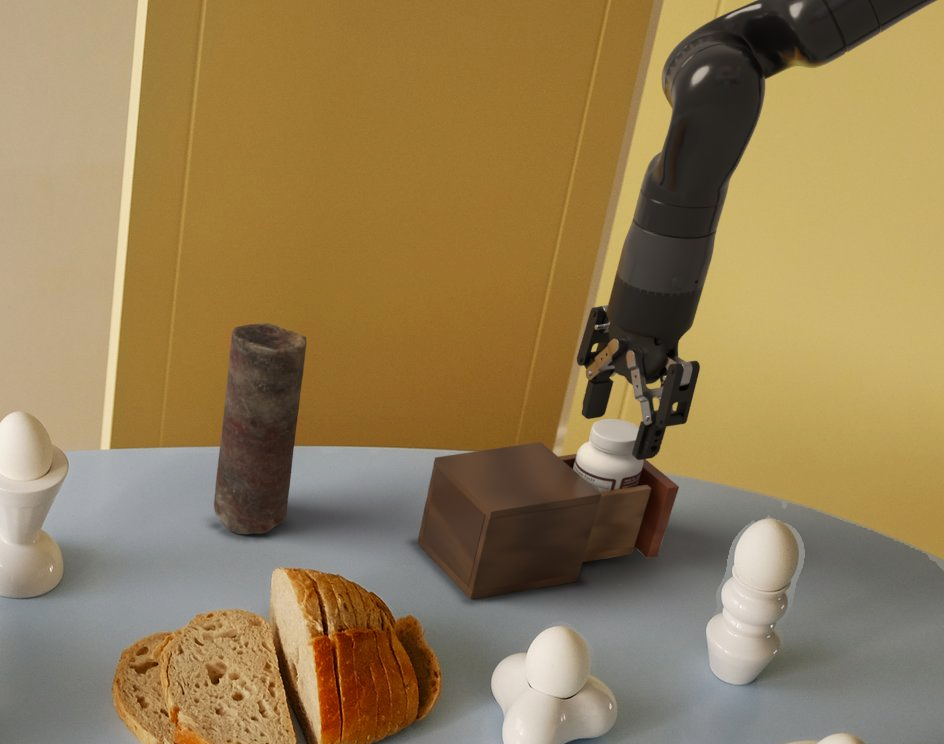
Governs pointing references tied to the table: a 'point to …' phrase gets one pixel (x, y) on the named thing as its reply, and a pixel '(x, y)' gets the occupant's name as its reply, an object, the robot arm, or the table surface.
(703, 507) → the table surface
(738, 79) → the robot arm
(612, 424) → the pill bottle
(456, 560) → the cabinet
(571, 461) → the drawer
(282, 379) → the brown clay vase
